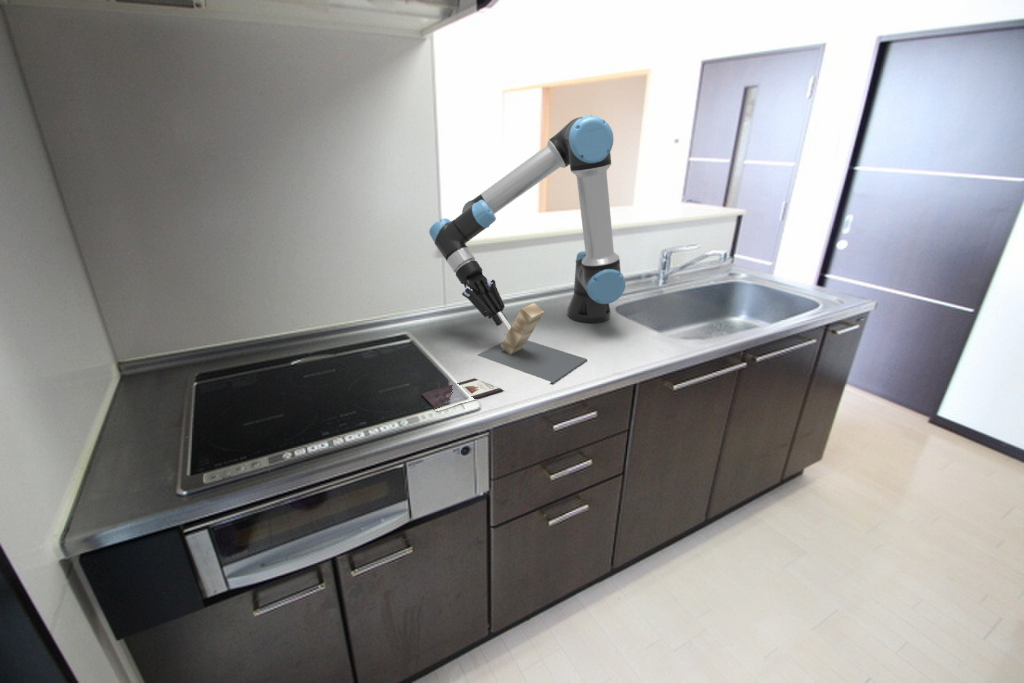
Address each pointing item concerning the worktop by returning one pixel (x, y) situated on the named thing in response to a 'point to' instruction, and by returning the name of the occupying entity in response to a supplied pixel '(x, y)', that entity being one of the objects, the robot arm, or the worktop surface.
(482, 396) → the chocolate bar
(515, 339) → the wooden block
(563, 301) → the worktop surface
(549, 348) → the rubber mat
